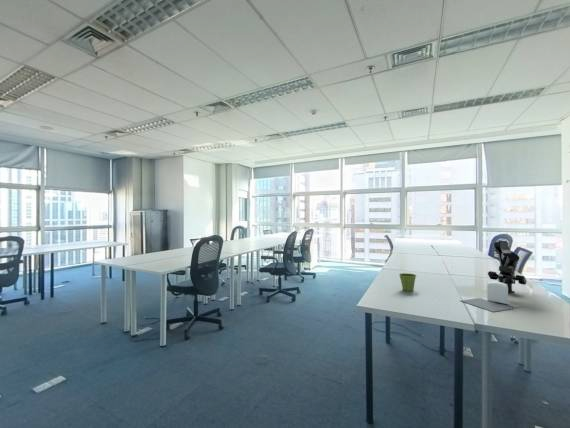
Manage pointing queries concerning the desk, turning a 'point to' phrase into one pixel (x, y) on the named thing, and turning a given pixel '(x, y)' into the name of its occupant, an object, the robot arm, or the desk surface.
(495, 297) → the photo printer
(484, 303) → the mat
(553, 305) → the desk surface
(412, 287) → the plant pot
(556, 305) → the desk surface
